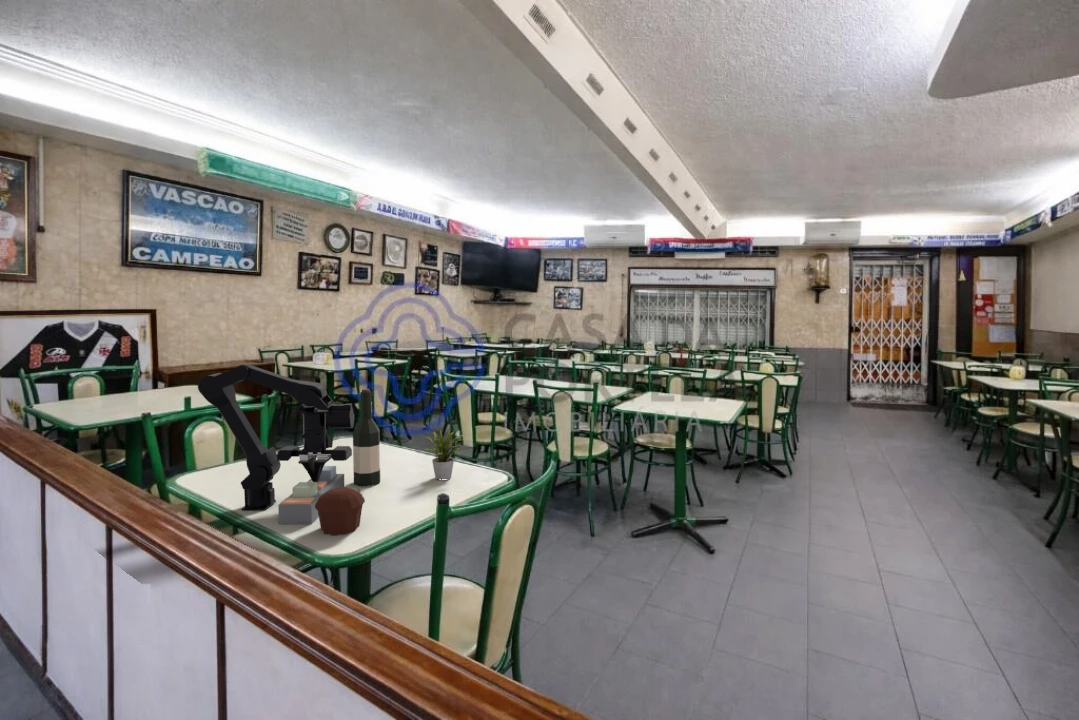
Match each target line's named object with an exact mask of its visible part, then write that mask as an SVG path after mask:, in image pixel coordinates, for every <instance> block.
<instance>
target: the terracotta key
mask: <svg viewBox="0 0 1079 720" xmlns="http://www.w3.org/2000/svg"><path fill="white" fill-rule="evenodd" d="M310 482H313V481H310ZM325 486H327V481H318V483H317V490H322V489H323V488H324V487H325Z"/></svg>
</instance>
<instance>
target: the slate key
mask: <svg viewBox="0 0 1079 720" xmlns="http://www.w3.org/2000/svg"><path fill="white" fill-rule="evenodd" d="M336 474H337V466H336V465H324V467H323V469H322V472H321V475H320V478H319V481H332V480H333V479H334V478H335V477H336Z"/></svg>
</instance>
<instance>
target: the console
mask: <svg viewBox="0 0 1079 720" xmlns="http://www.w3.org/2000/svg"><path fill="white" fill-rule="evenodd" d="M310 481H312V479H311V478H310V479H308V480H307V481H306V482H310ZM338 487H346V486H345V473H336V477H335V478H334V479H333V480H332V481H327V486H325V487H324V488H323V489H322V490H317V495H316V496H314V497H313V498H293V493H292V494H290V495H288V496H287V497H286V498H284V499H283V500H281V502H280V503H279V504H278V505H277V507H278V509H277V510H278V511H277V512H278V525H312V524H313V523H314V522H315V521H317V519H319V515H318V511H317V510H316V508H315V504H316V502H317V500H318V499H319V497H320V496H321V495H323V494H324V493H326V492H327V491H329V490H330V489H333V488H338Z"/></svg>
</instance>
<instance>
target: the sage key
mask: <svg viewBox="0 0 1079 720" xmlns="http://www.w3.org/2000/svg"><path fill="white" fill-rule="evenodd" d="M292 494H293V498H313V497H314V496H316V495H317V482H307V481H300V482H298V483H297V484H295V485H294V486H292Z"/></svg>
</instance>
